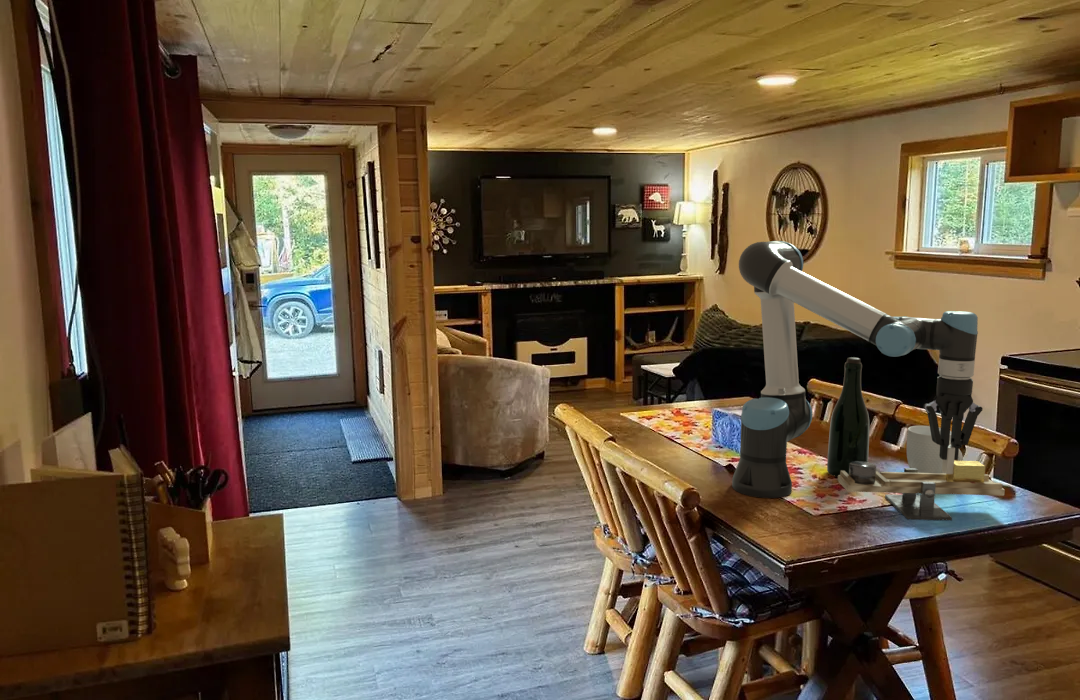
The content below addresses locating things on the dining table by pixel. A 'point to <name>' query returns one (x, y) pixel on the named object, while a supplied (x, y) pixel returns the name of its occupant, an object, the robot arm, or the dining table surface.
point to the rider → (967, 472)
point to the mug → (924, 450)
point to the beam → (912, 484)
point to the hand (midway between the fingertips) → (947, 472)
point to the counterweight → (862, 472)
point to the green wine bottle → (849, 423)
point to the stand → (919, 503)
